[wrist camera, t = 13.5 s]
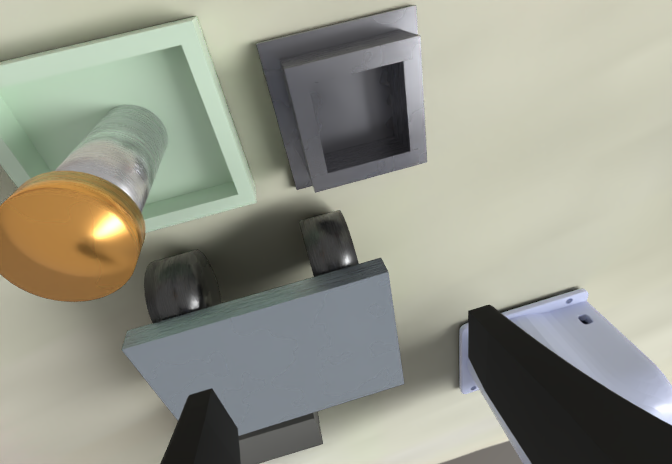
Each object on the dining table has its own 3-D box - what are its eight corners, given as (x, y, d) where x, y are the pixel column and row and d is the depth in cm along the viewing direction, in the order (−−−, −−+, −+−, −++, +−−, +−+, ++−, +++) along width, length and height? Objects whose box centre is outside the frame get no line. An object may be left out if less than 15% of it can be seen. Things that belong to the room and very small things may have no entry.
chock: (300, 351, 25) (310, 407, 22) (313, 391, 28) (323, 446, 25) (209, 377, 25) (205, 438, 22) (231, 415, 27) (230, 475, 24)
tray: (196, 15, 14) (191, 20, 13) (254, 184, 18) (256, 202, 17) (-31, 69, 14) (-64, 80, 12) (81, 230, 18) (67, 254, 16)
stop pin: (155, 87, 15) (93, 177, 8) (188, 159, 16) (158, 280, 10) (75, 108, 14) (-54, 217, 8) (117, 178, 16) (39, 316, 10)
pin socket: (413, 5, 15) (438, 9, 14) (422, 153, 19) (442, 172, 17) (255, 43, 15) (258, 52, 13) (296, 187, 19) (302, 210, 17)
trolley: (353, 190, 19) (384, 247, 15) (378, 330, 25) (406, 397, 21) (132, 250, 19) (104, 328, 14) (213, 379, 25) (209, 460, 21)
